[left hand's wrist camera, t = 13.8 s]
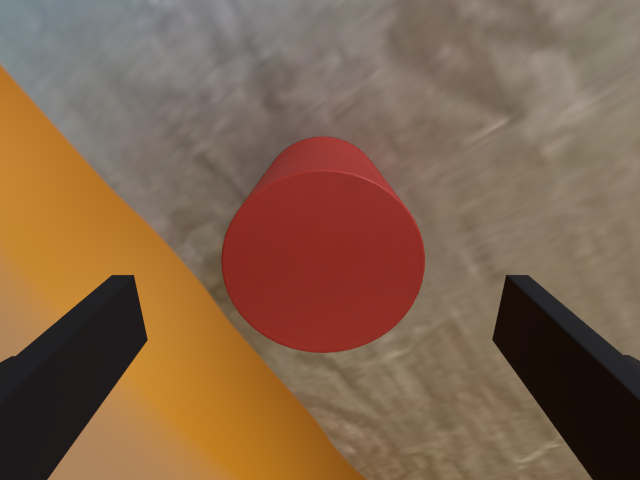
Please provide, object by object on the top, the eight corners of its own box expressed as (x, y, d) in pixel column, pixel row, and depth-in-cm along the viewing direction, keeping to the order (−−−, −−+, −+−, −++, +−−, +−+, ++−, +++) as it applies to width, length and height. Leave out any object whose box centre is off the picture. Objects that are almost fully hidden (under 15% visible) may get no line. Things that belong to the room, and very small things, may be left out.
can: (251, 146, 25) (196, 186, 14) (376, 127, 24) (421, 154, 13) (275, 258, 28) (246, 363, 17) (385, 244, 27) (428, 342, 16)
